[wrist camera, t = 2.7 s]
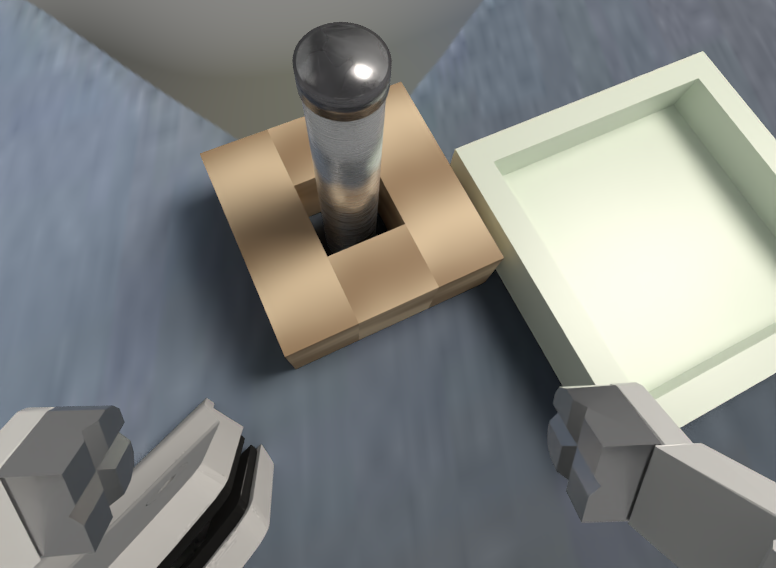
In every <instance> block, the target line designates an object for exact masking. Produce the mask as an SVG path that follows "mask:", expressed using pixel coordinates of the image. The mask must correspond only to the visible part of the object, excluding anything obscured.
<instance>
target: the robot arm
mask: <svg viewBox="0 0 776 568" xmlns="http://www.w3.org/2000/svg"><path fill="white" fill-rule="evenodd" d="M553 405H554V406H555V408H556V410H557V412H558V413H557V414H556V415H555V416H554V417H553V418H552V419H551V420H550V421H549V425H548V431H547V442H548V450H549V454H550V457H551V461H552V463H553V465H554V467H555V469H556V471H557V472H558V473H560V474H561V475H562V476H564V477H565V478H567V479H568V485H567V489H566V492H567V494H568V496H569V498H570V500H571V502H572V504H573V506H574V508H575V510H576V512H577V514H578V516H579V518H580V520H581V522H582V523H585V522H616V521H629V522H628V524H629V525H630V526H631V527H633V528H634V529H635V530H636V531H637V532H638V533H640V534H641V535H642V536H643V537H644V538H645V539H646V540H648V541H649V542H650V543H651V544H652V545H653V546H655V547H656V548H657V549H658V550H659V551H660V552H661V553H663V554H664V555H665V556H666V557H667V558H668V559H669V560H671V561H672V562H673V563H674V564H675V565H676V566H678V567H679V568H776V483H775V482H773V481H771V480H770V479H768V478H766V477H764V476H762V475H760V474H758V473H756V472H755V471H753V470H751V469H749V468H747V467H745V466H743V465H741V464H739V463H738V462H736V461H734V460H732V459H730V458H728V457H726V456H724V455H723V454H721V453H719V452H717V451H715V450H713V449H711V448H709V447H707V446H706V445H704V444H702V443H697V444H693V443H692V442H691V441H690V439H689V438H688V437H687V436H686V435H685V434H684V433H683V431H682V430H681V429H680V428H679V427H678V426H677V424H676V423H675V422H674V421H673V420H672V419H671V417H670V416H669V415H668V414H667V413H666V412H665V411H664V409H663V408H662V407H661V406H660V405H659V404H658V402H657V401H656V400H655V399H654V398H653V397H652V396H651V394H650V393H649V392H648V391H647V390H646V389H645V387H644V386H642V385H641V384H639V383H637V382H630V383H615V384H610V385H588V386H567V387H559V388H558V389H557V391H556V393H555V396H554V401H553ZM124 423H125V422H124V420H123V417H122V414H121V412H120V409H119V408H117V407H115V406H63V407H38V408H25V409H23V410H21V411H18V412H17V413H16V414H15V415H14V416H13V417H12V418H11V419H10V421H9V422H8V423H7V424H6V425H5V426H4V427H3V428H2V429H1V430H0V568H33V567H34V566H36V565H37V564H38V563H39V562H40V561H41V559H40V558H42V557H53V556H64V555H75V554H86V553H95V552H96V550H97V548H98V546H99V544H100V542H101V540H102V538H103V536H104V534H105V532H106V530H107V528H108V526H109V524H110V522H111V520H112V518H113V515H112V512H111V509H110V505H112V504H113V503H114V502H115V501H117V500H118V499H119V498H121V497H122V496H123V495H124V494H125V492H126V490H127V488H128V486H129V483H130V481H131V478H132V473H133V468H134V451H133V448H132V444H131V441H130V440H129V439H127V438H126V437H125V436H123V435H122V434H121V433H119V431H120V429H121V428H122V426H123V424H124Z"/></svg>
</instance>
